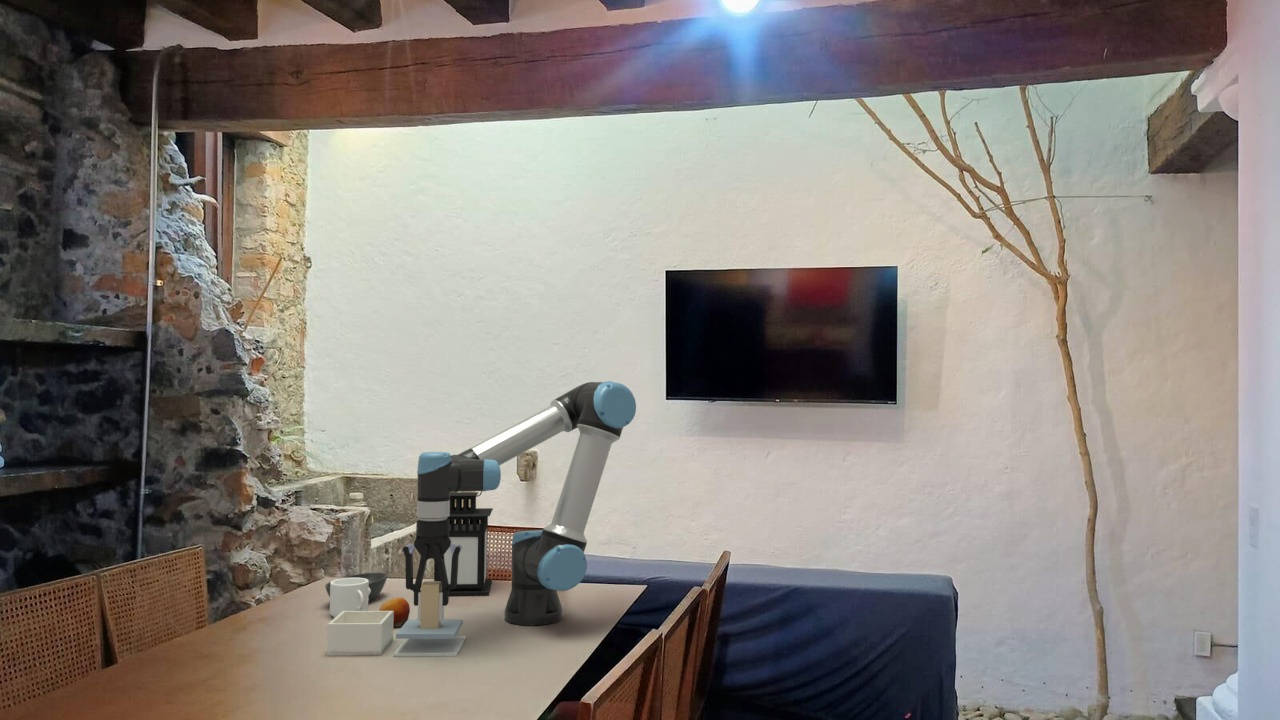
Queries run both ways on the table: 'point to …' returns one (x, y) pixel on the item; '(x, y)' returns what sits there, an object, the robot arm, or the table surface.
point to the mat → (430, 647)
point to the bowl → (374, 583)
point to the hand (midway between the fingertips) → (430, 619)
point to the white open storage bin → (360, 633)
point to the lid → (430, 618)
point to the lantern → (468, 546)
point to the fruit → (397, 610)
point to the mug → (349, 595)
